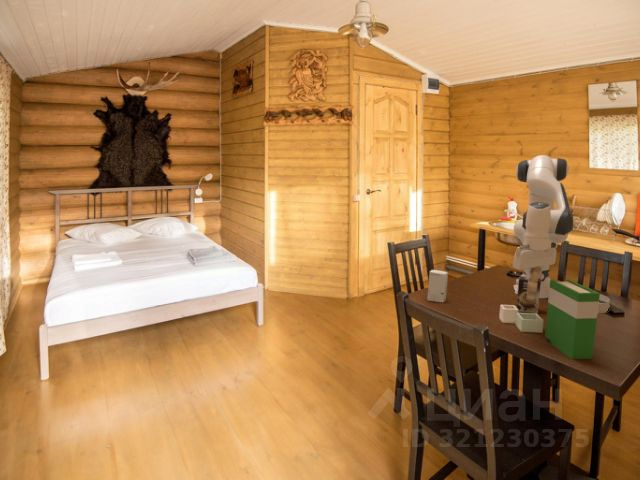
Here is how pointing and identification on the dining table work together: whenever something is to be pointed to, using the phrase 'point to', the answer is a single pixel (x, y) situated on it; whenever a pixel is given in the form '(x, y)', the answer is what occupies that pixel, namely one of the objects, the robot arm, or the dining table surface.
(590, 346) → the green cereal box
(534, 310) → the coffee box
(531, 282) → the dowel
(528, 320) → the holder
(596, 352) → the dining table surface
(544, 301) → the dining table surface
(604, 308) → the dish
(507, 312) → the cup
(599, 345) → the dining table surface
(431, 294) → the skincare box
